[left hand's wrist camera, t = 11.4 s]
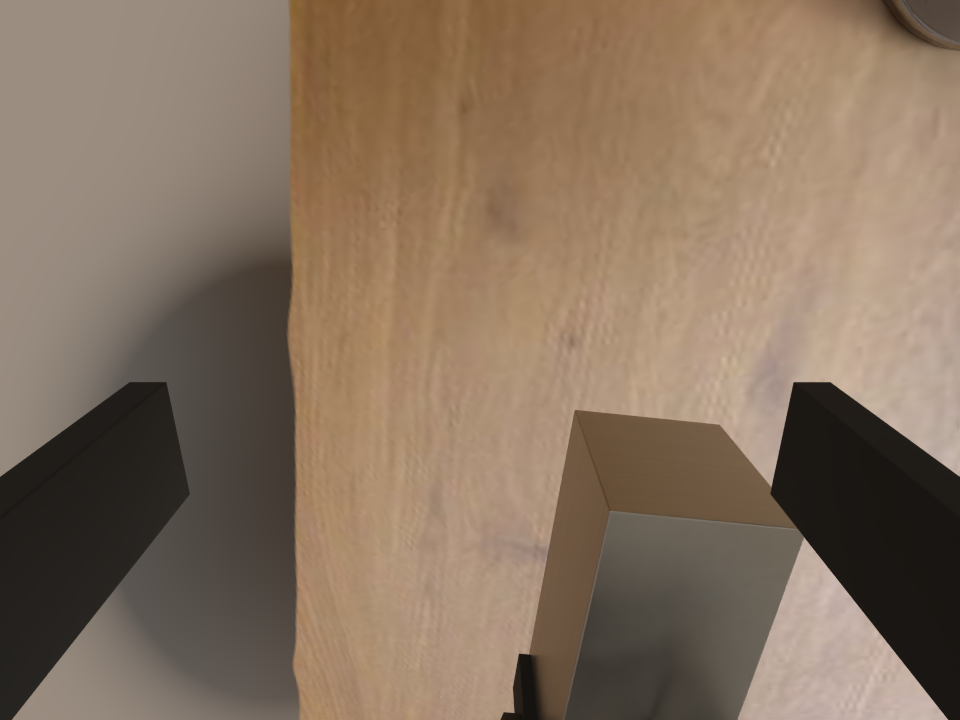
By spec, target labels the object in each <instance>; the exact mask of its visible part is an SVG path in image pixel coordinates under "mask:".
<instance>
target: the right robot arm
mask: <svg viewBox="0 0 960 720" xmlns="http://www.w3.org/2000/svg"><path fill="white" fill-rule="evenodd" d="M513 694H514V711H515V713H506V712H504V713H503V715H502V718H501V720H537V710H536V700H535V690H534V680H533V670H532V660H531V655H528V654H519V657H518V662H517V668H516V674H515V679H514V685H513Z"/></svg>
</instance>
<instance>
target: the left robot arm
mask: <svg viewBox="0 0 960 720" xmlns="http://www.w3.org/2000/svg"><path fill="white" fill-rule="evenodd" d="M885 2H886V4H887V6H888V7H889V9H890V10H891V12H892V13H893V15H894V16H895V17H896V18H897V19H898V21H899V22H900V23H901V24H902V25H903V26H904V27H905V28H906V29H908V30H909V31H910V32H912V33H913V34H914V35H916V36H917V37H919V38H921V39H923V40H924V41H926V42H929V43H931V44H934V45H936V46H939V47H943V48H947V49H953V50H960V0H885ZM189 494H190V493H189V488H188V483H187V479H186V474H185V469H184V465H183V460H182V455H181V450H180V445H179V440H178V436H177V431H176V426H175V421H174V417H173V412H172V407H171V402H170V398H169V393H168V388H167V383H166V382H130V383H128V384H127V385H125V386H124V387H123V388H121V389H120V390H119V391H117V392H116V393H114V394H113V395H112V396H110V397H109V398H108V399H106V400H105V401H103V402H102V403H101V404H99V405H98V406H97V407H95V408H94V409H93V410H91V411H90V412H88V413H87V414H86V415H84V416H83V417H82V418H80V419H79V420H77V421H76V422H75V423H73V424H72V425H71V426H69V427H68V428H67V429H65V430H64V431H62V432H61V433H60V434H58V435H57V436H56V437H54V438H53V439H51V440H50V441H49V442H47V443H46V444H45V445H43V446H42V447H40V448H39V449H38V450H36V451H35V452H34V453H32V454H31V455H30V456H28V457H27V458H25V459H24V460H23V461H21V462H20V463H19V464H17V465H16V466H15V467H13V468H12V469H10V470H9V471H8V472H6V473H5V474H4V475H2V476H1V477H0V720H12V719H13V717H14V716H15V715H16V714H17V712H18V711H19V710H20V709H21V707H22V706H23V705H24V704H25V702H26V701H27V700H28V698H29V697H30V696H31V695H32V693H33V692H34V691H35V690H36V688H37V687H38V686H39V684H40V683H41V682H42V681H43V679H44V678H45V677H46V676H47V674H48V673H49V672H50V671H51V669H52V668H53V667H54V665H55V664H56V663H57V662H58V660H59V659H60V658H61V657H62V655H63V654H64V653H65V652H66V650H67V649H68V648H69V647H70V645H71V644H72V643H73V641H74V640H75V639H76V638H77V636H78V635H79V634H80V633H81V631H82V630H83V629H84V628H85V626H86V625H87V624H88V622H89V621H90V620H91V619H92V617H93V616H94V615H95V614H96V612H97V611H98V610H99V608H100V607H101V606H102V605H103V603H104V602H105V601H106V600H107V598H108V597H109V596H110V595H111V593H112V592H113V591H114V590H115V588H116V587H117V586H118V584H119V583H120V582H121V581H122V579H123V578H124V577H125V576H126V574H127V573H128V572H129V571H130V569H131V568H132V567H133V565H134V564H135V563H136V562H137V560H138V559H139V558H140V557H141V555H142V554H143V553H144V552H145V550H146V549H147V548H148V546H149V545H150V544H151V543H152V541H153V540H154V539H155V538H156V536H157V535H158V534H159V533H160V531H161V530H162V529H163V527H164V526H165V525H166V524H167V522H168V521H169V520H170V519H171V517H172V516H173V515H174V513H175V512H176V511H177V510H178V508H179V507H180V506H181V505H182V503H183V502H184V501H185V499H186V498H187V497H188V496H189ZM770 495H771V496H772V497H773V498H774V500H775V501H776V502H777V503H778V505H779V506H780V507H781V508H782V510H783V511H784V512H785V514H786V515H787V516H788V517H789V519H790V520H791V521H792V522H793V524H794V525H795V526H796V527H797V529H798V530H799V531H800V533H801V534H802V535H803V536H804V538H805V539H806V540H807V541H808V543H809V544H810V545H811V546H812V548H813V549H814V550H815V552H816V553H817V554H818V555H819V557H820V558H821V559H822V560H823V562H824V563H825V564H826V565H827V567H828V568H829V569H830V571H831V572H832V573H833V574H834V576H835V577H836V578H837V579H838V581H839V582H840V583H841V584H842V586H843V587H844V588H845V590H846V591H847V592H848V593H849V595H850V596H851V597H852V598H853V600H854V601H855V602H856V603H857V605H858V606H859V607H860V609H861V610H862V611H863V612H864V614H865V615H866V616H867V617H868V619H869V620H870V621H871V622H872V624H873V625H874V626H875V628H876V629H877V630H878V631H879V633H880V634H881V635H882V636H883V638H884V639H885V640H886V641H887V643H888V644H889V645H890V647H891V648H892V649H893V650H894V652H895V653H896V654H897V655H898V657H899V658H900V659H901V660H902V662H903V663H904V664H905V666H906V667H907V668H908V669H909V671H910V672H911V673H912V674H913V676H914V677H915V678H916V679H917V681H918V682H919V683H920V685H921V686H922V687H923V688H924V690H925V691H926V692H927V693H928V695H929V696H930V697H931V698H932V700H933V701H934V702H935V704H936V705H937V706H938V707H939V709H940V710H941V711H942V712H943V714H944V715H945V716H946V717H947V719H948V720H960V477H959V476H958V475H956V474H955V473H954V472H952V471H951V470H950V469H948V468H947V467H946V466H944V465H943V464H941V463H940V462H939V461H937V460H936V459H935V458H933V457H932V456H930V455H929V454H928V453H926V452H925V451H924V450H922V449H921V448H920V447H918V446H917V445H915V444H914V443H913V442H911V441H910V440H909V439H907V438H906V437H904V436H903V435H902V434H900V433H899V432H898V431H896V430H895V429H894V428H892V427H891V426H889V425H888V424H887V423H885V422H884V421H883V420H881V419H880V418H878V417H877V416H876V415H874V414H873V413H872V412H870V411H869V410H868V409H866V408H865V407H863V406H862V405H861V404H859V403H858V402H857V401H855V400H854V399H852V398H851V397H850V396H848V395H847V394H846V393H844V392H843V391H841V390H840V389H839V388H837V387H836V386H835V385H833V384H832V383H831V382H794V383H793V388H792V393H791V398H790V402H789V407H788V412H787V417H786V421H785V426H784V431H783V436H782V440H781V445H780V450H779V455H778V460H777V464H776V469H775V474H774V479H773V483H772V488H771V493H770Z"/></svg>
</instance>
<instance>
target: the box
mask: <svg viewBox="0 0 960 720" xmlns="http://www.w3.org/2000/svg"><path fill="white" fill-rule="evenodd" d="M771 488H772V487H771V486H770V485H769V484H768V483H767V481H766V480H765V479H764V478H763V477H762V475H761V474H760V473H759V472H758V470H757V469H756V468H755V467H754V466H753V464H752V463H751V462H750V461H749V460H748V458H747V457H746V456H745V455H744V454H743V452H742V451H741V450H740V449H739V448H738V446H737V445H736V444H735V443H734V442H733V440H732V439H731V438H730V437H729V436H728V434H727V433H726V432H725V431H724V430H723V428H722V427H721V426H720V425H716V424H706V423H697V422H687V421H677V420H667V419H658V418H648V417H638V416H628V415H619V414H609V413H599V412H590V411H580V410H575V411H574V417H573V422H572V428H571V433H570V438H569V444H568V449H567V454H566V460H565V465H564V470H563V476H562V481H561V487H560V492H559V497H558V503H557V508H556V513H555V519H554V524H553V529H552V535H551V540H550V546H549V551H548V556H547V562H546V567H545V572H544V578H543V583H542V588H541V594H540V599H539V605H538V610H537V615H536V621H535V626H534V631H533V637H532V642H531V647H530V653H529V655H531V660H532V670H533V680H534V690H535V700H536V710H537V720H738V717H739V714H740V712H741V709H742V706H743V703H744V701H745V698H746V695H747V693H748V690H749V687H750V684H751V682H752V679H753V676H754V674H755V671H756V668H757V665H758V663H759V660H760V657H761V654H762V652H763V649H764V646H765V644H766V641H767V638H768V635H769V633H770V630H771V627H772V624H773V622H774V619H775V616H776V614H777V611H778V608H779V605H780V603H781V600H782V597H783V594H784V592H785V589H786V586H787V584H788V581H789V578H790V575H791V573H792V570H793V567H794V564H795V562H796V559H797V556H798V554H799V551H800V548H801V545H802V543H803V540H804V536H803V535H802V534H801V533H800V531H799V530H798V529H797V527H796V526H795V525H794V524H793V522H792V521H791V520H790V519H789V517H788V516H787V515H786V514H785V512H784V511H783V510H782V508H781V507H780V506H779V505H778V503H777V502H776V501H775V500H774V498H773V497H772V496H771V495H770V493H771Z"/></svg>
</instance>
